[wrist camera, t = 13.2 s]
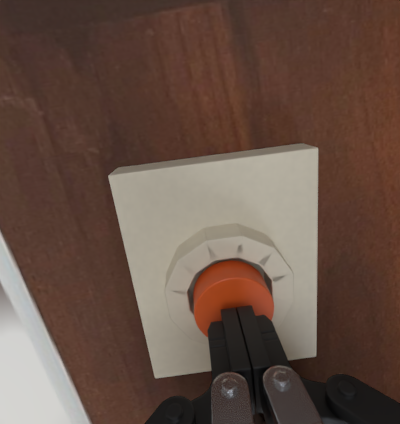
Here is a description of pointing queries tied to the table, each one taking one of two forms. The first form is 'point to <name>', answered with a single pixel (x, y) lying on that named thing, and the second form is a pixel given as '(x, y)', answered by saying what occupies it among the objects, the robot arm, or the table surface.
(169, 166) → the control block
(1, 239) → the table surface
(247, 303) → the button
